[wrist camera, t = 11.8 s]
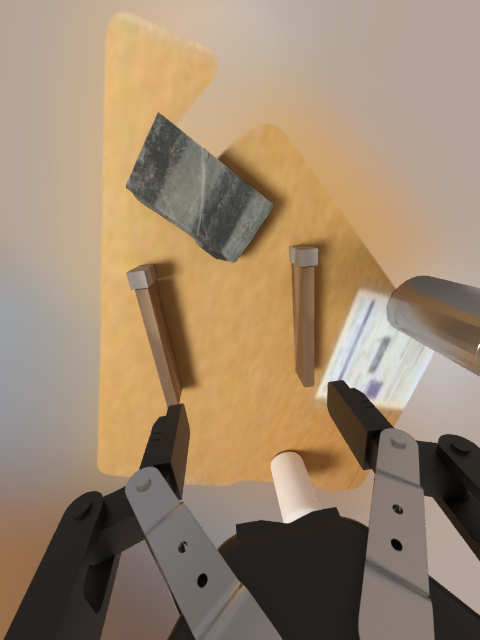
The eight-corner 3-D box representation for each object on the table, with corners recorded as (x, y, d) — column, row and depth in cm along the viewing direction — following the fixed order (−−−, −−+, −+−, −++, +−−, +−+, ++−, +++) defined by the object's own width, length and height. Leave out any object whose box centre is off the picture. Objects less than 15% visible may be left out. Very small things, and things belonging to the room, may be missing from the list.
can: (306, 465, 50) (332, 535, 38) (276, 477, 50) (294, 549, 39) (295, 445, 47) (321, 512, 36) (265, 457, 48) (280, 528, 37)
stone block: (229, 266, 34) (231, 273, 29) (131, 200, 30) (115, 196, 25) (266, 208, 32) (276, 205, 27) (166, 129, 28) (156, 109, 23)
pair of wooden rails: (303, 245, 34) (317, 248, 29) (305, 369, 41) (317, 387, 36) (138, 266, 33) (126, 272, 28) (171, 390, 40) (165, 411, 35)
